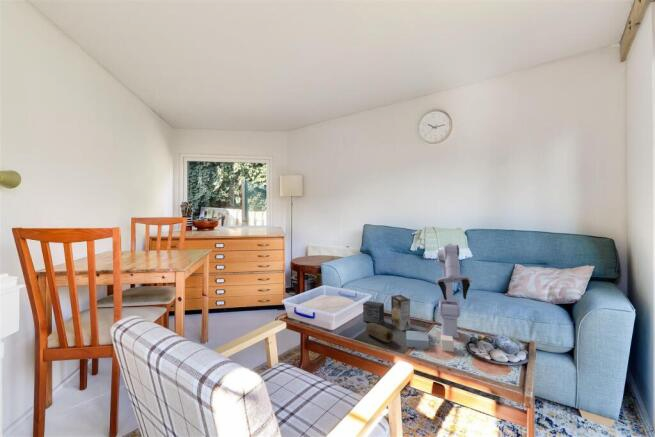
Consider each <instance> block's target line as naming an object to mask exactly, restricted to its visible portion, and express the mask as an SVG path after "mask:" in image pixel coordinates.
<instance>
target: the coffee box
mask: <svg viewBox="0 0 655 437" xmlns="http://www.w3.org/2000/svg"><path fill="white" fill-rule="evenodd" d="M390 299H391V300H390V301H391V302H390V303H391V306H390V307H391V325H392V326H393V327H395V328H396V329H397V330H399V331H406V330H410V329H411V299H410V298H407V296H404V295H402V294H397V295H392V296H390Z"/></svg>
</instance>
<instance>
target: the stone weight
mask: <svg viewBox="0 0 655 437" xmlns="http://www.w3.org/2000/svg"><path fill="white" fill-rule="evenodd" d="M365 331H366V333H367V334H369V336H371V337H373V338H375V339H377V340H379V341H381V342H383V343H390V342H392V340H393V339H394V332H393V330H391V329H389V328H387V327H385V326H383V325H381V324H380V325H379V324H375V323H369V322H368V323H367V324H366V326H365Z"/></svg>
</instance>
